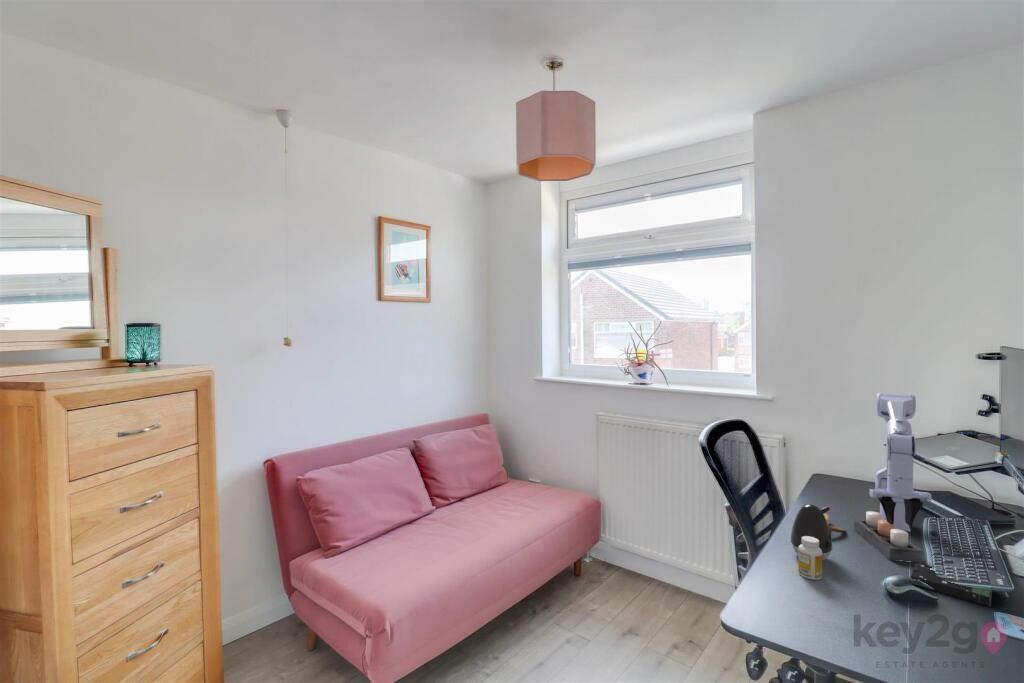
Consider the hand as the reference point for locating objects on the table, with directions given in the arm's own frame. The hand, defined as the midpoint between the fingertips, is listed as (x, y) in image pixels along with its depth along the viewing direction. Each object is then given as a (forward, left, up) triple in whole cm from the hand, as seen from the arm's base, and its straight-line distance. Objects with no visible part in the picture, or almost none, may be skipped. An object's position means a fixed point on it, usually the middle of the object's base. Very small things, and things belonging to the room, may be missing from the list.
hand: (899, 523), depth 139 cm
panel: (-6, -2, -9) cm, 12 cm away
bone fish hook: (-10, -17, -10) cm, 22 cm away
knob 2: (0, 0, -6) cm, 6 cm away
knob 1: (-13, -5, -6) cm, 15 cm away
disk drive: (+14, +9, -10) cm, 19 cm away
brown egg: (-6, -2, -6) cm, 9 cm away
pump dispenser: (+14, -21, -10) cm, 27 cm away
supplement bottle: (+26, -21, -10) cm, 35 cm away
